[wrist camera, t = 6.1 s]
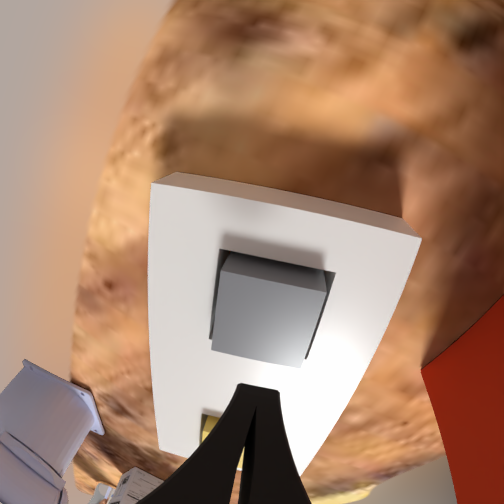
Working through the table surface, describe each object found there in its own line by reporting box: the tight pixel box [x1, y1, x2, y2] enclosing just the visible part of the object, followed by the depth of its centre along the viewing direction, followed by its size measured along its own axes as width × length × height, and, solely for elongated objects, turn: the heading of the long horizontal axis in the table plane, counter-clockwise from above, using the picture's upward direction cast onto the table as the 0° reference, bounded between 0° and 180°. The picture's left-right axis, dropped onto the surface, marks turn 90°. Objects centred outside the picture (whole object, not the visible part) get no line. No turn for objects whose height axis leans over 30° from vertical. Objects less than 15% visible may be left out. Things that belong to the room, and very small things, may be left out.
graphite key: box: [211, 251, 327, 369], centre depth 15 cm, size 4×4×3 cm
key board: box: [148, 172, 422, 476], centre depth 18 cm, size 12×22×3 cm, turn 171°
